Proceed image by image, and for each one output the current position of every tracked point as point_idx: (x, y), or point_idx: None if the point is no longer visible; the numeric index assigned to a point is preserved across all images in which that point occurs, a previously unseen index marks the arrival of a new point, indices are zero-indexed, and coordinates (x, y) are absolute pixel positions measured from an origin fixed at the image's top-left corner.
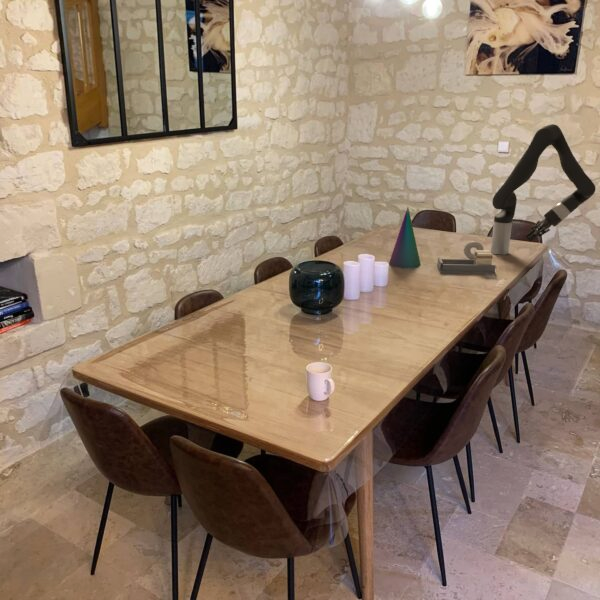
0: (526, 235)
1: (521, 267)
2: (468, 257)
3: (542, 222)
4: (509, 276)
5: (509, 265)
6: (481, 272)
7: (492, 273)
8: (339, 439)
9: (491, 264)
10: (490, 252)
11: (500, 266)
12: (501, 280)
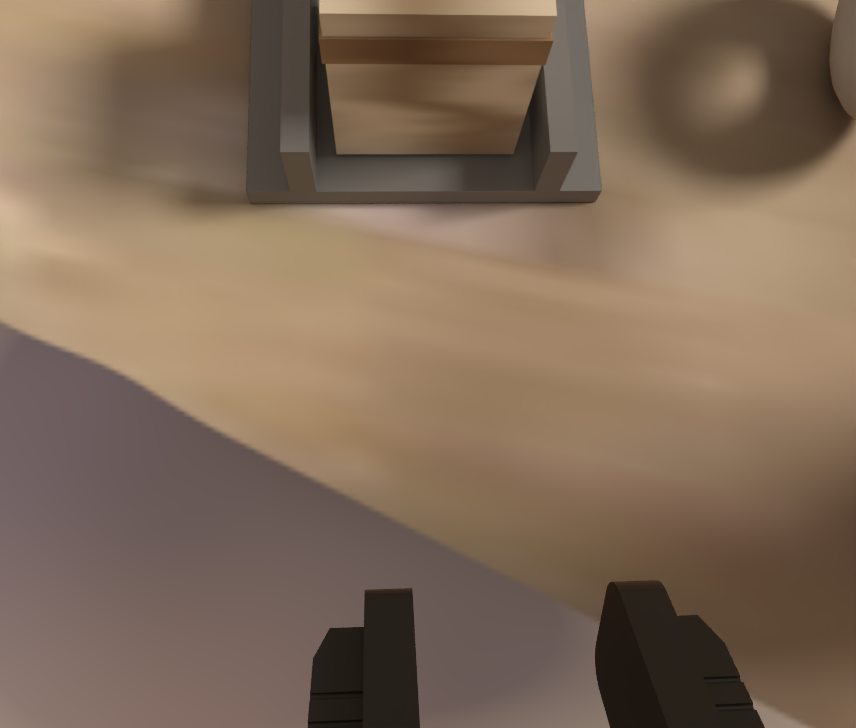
0: (649, 615)
1: None
2: (839, 4)
3: None
4: (179, 349)
5: (679, 454)
6: (251, 44)
7: (250, 164)
8: None
9: (332, 113)
10: (423, 3)
11: (613, 331)
12: (14, 223)
